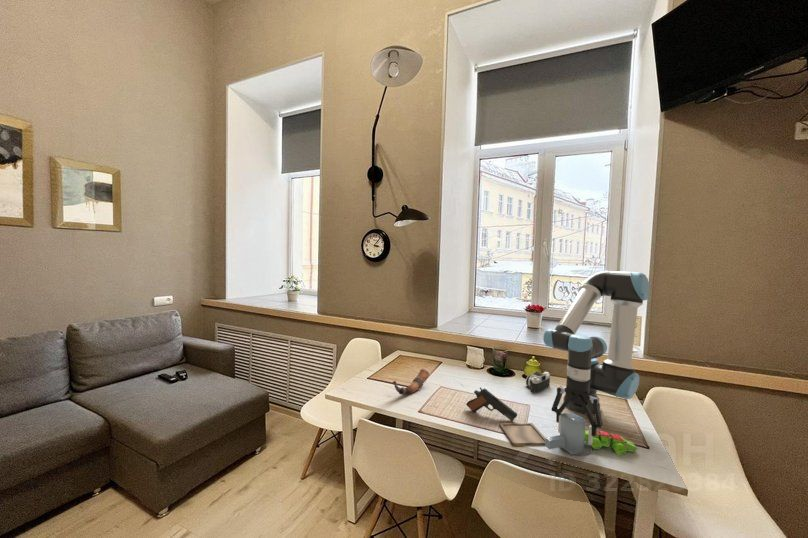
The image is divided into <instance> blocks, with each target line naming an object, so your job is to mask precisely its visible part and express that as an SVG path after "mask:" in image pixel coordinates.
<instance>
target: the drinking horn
mask: <svg viewBox="0 0 808 538" xmlns="http://www.w3.org/2000/svg"><path fill="white" fill-rule="evenodd" d="M429 376H430V372H429V371H428V370H426V369H424V368H421V369H420V370H419V372H418V374H417V375H416V377H414V378H413V380H412V382H411V383H410V384H409V385H408V386H407V387H404V386H402V387H399V386H398V384H397V381H395V380H394V381H392V385H394V388H395V390H396V392H397V393H398V394H399V395H402V396H403V395H410V394H413V393H415V392H416V391H418V390H420V389H421V388H422V387H423V386H424V384H425V382H426V381H427V380H428V378H429Z"/></svg>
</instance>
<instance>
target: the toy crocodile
mask: <svg viewBox="0 0 808 538" xmlns="http://www.w3.org/2000/svg"><path fill="white" fill-rule="evenodd" d="M588 436H589V429H587V430H585V442H586V443H588ZM602 446H603V447H607V448H609V447H611V448H612V449H613V451H614V452H615V454H617V455H625V454H626V452H627V451H628V452H631V453H632V452H636V451H638V447H637V445H635V444H634V443H633V442H632V441H631V440H630V441H629V440H627V439H625V438H624V437H623V436H622V435H620V434H615V433H612V432H611V433H608V432H607V431H603V430H599V431H597V432H596V436H595V437H594V436H593V443H592V444H591V445H590V447H591V448H593V449H594V450H600V449H601V448H602Z"/></svg>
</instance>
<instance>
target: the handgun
mask: <svg viewBox="0 0 808 538" xmlns="http://www.w3.org/2000/svg"><path fill="white" fill-rule="evenodd" d="M479 390H480V391H479ZM479 390H477V389H476V390H474V391H473V393H474V394H475V395H476V397H474V398H473V399H470V400H469V401H467V403H466V404H465V405H466V406H467V407H468V408H469V410H471V411H472V413H476V412H477V411H479V410H481V409H482V408H486V409H487V410H489V411H490V412H493V411H494V410H496V411H497V412H498V413H500V414H501V415H503V416H504V417H506V418H507V419H508V420H510V421H511V422H513V421H514V420H515V419H516V418H517V416H518V413H517V412H516V411H515V410H513V409H512V408H511V407H509V406H508V405H507V404H506V403H504V402H503V401H502V400H500V399H499V398H498V397H496V396H495V394H492V392H491V391H489V390H488V389H486V388H482V387H479ZM489 405H490V406H491V407H492V409H491V408H490V407H489Z"/></svg>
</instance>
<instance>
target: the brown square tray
mask: <svg viewBox="0 0 808 538" xmlns="http://www.w3.org/2000/svg"><path fill="white" fill-rule="evenodd" d="M498 426H499V427H500V429H501V431H503V433H504V435H505V436H506V438H507V439H508V441H509V442H510V444H511V446H513V447H514V446H515V447H517V446H519V447H520V446H522V447H523V446H545V440H546V438H547V437H545V436H544V434H543V433H542V432H540V430H539V429H538V427H536V426H535V424H534V423H533V422H499V424H498Z"/></svg>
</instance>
